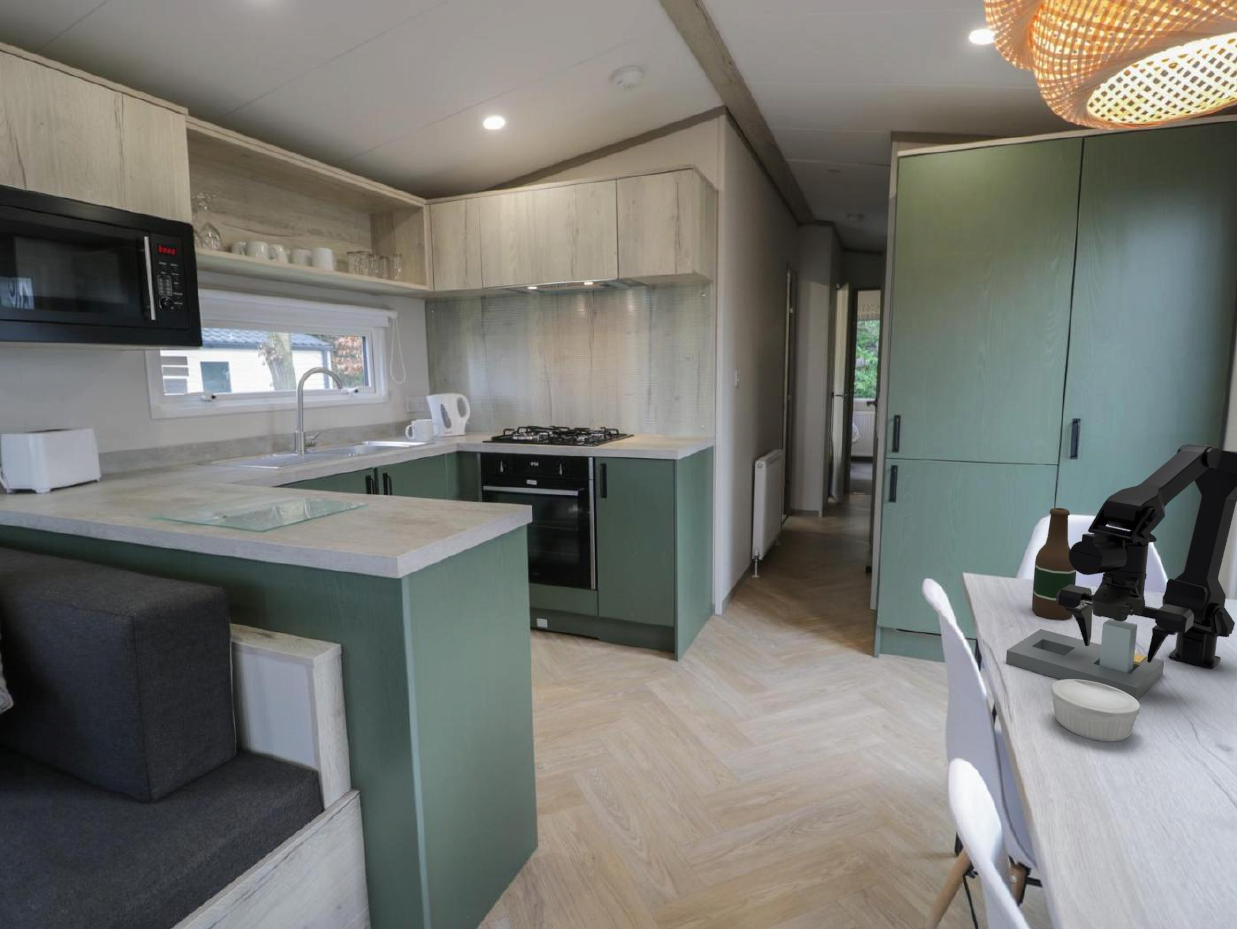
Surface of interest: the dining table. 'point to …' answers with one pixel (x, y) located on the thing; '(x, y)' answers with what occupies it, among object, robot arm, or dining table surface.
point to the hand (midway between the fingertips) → (1117, 653)
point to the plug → (1118, 645)
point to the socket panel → (1081, 662)
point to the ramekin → (1094, 709)
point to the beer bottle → (1053, 569)
